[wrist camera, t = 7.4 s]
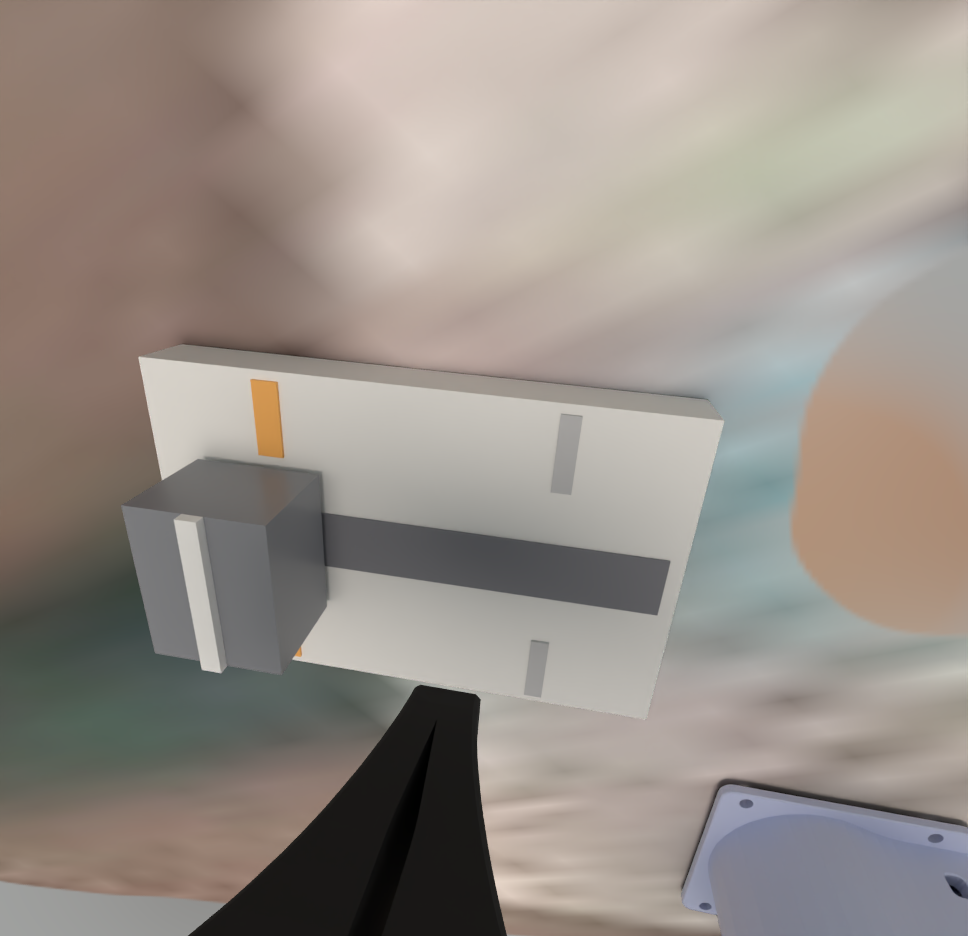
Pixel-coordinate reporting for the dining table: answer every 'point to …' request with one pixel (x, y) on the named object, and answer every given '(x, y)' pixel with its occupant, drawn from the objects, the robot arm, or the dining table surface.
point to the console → (466, 513)
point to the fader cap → (230, 563)
